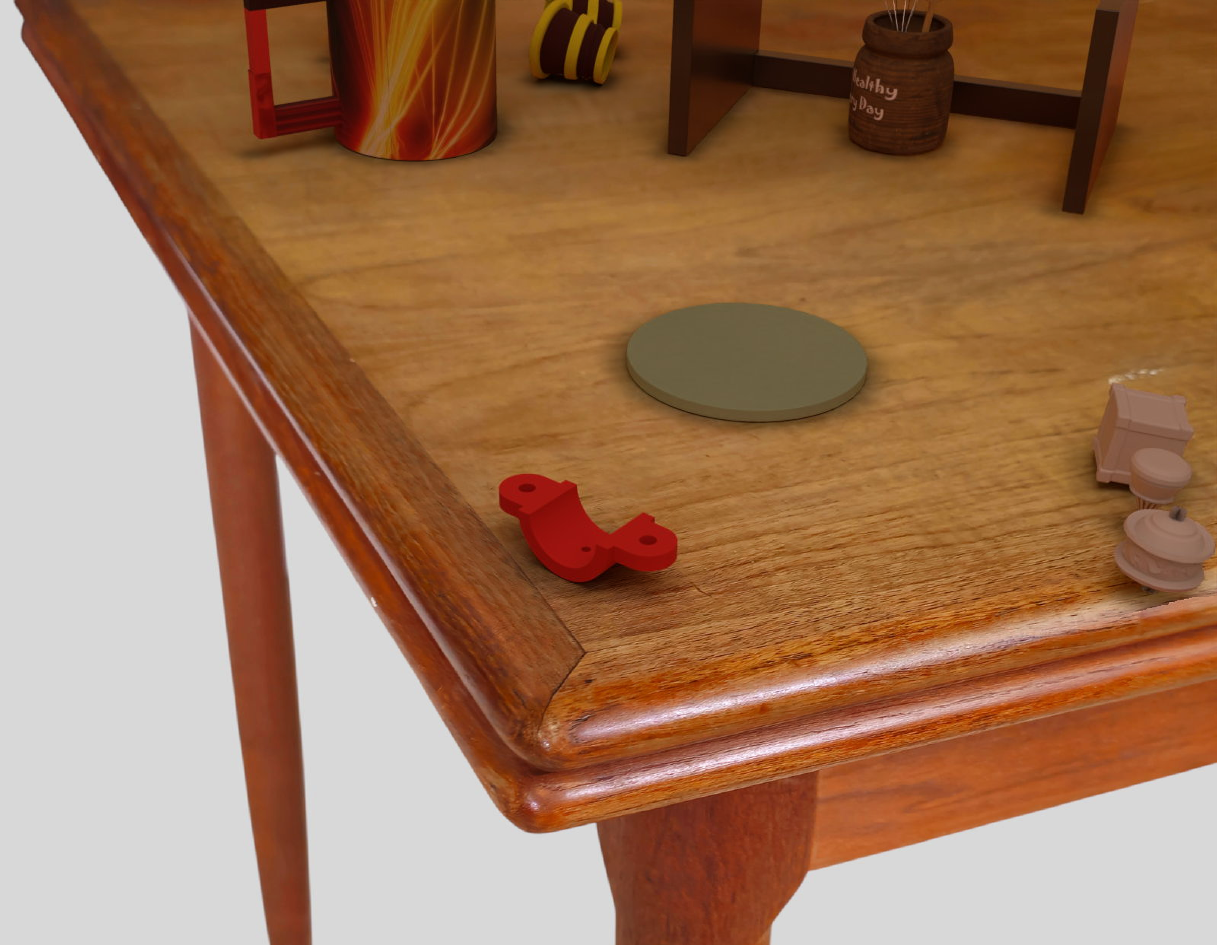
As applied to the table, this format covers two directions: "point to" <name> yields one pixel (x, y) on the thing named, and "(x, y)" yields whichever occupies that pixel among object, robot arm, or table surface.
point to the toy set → (1152, 488)
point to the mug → (390, 77)
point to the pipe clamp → (581, 531)
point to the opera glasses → (576, 39)
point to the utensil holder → (902, 81)
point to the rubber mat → (746, 362)
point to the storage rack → (731, 62)
